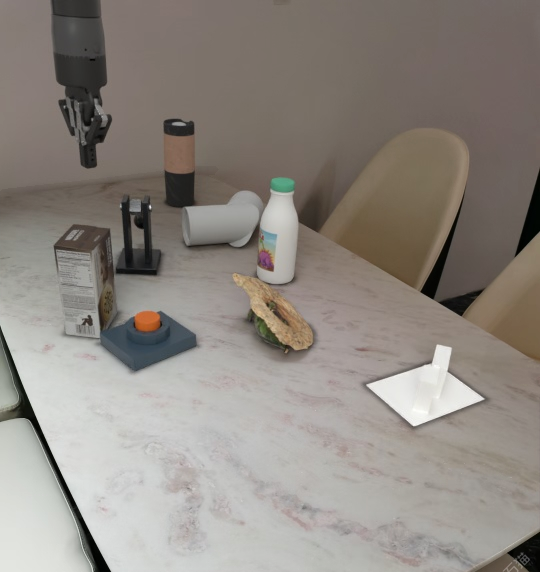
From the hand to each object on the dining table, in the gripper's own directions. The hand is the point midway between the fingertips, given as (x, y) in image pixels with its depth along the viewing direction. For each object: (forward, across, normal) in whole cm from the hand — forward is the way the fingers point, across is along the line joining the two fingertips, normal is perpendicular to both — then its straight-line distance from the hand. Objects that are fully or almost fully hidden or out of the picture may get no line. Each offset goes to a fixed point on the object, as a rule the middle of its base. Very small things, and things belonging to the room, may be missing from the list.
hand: (89, 166), depth 98 cm
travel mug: (+24, -32, +42) cm, 58 cm away
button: (+20, +20, -3) cm, 28 cm away
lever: (+16, -10, +15) cm, 24 cm away
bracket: (+24, -7, +13) cm, 28 cm away
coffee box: (+24, +9, -6) cm, 26 cm away
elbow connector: (+24, -8, +36) cm, 44 cm away
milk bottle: (+24, +14, +32) cm, 42 cm away
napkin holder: (+23, +57, +24) cm, 66 cm away
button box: (+24, +20, -2) cm, 31 cm away
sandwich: (+23, +30, +17) cm, 42 cm away
